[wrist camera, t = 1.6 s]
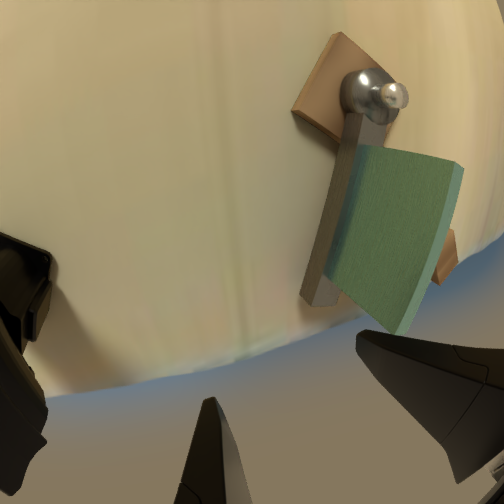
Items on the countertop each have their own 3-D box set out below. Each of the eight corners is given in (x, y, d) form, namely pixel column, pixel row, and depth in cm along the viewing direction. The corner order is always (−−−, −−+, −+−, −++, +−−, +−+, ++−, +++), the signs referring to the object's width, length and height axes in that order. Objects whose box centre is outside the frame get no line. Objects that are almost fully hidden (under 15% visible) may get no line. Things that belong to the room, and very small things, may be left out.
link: (344, 61, 16) (450, 44, 8) (386, 84, 18) (485, 84, 10) (288, 293, 23) (357, 374, 14) (331, 293, 24) (402, 361, 16)
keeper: (396, 235, 27) (433, 255, 22) (416, 214, 26) (453, 230, 22) (407, 265, 29) (439, 285, 24) (425, 244, 29) (458, 262, 24)
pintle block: (290, 110, 18) (298, 109, 17) (332, 34, 17) (340, 31, 16) (364, 162, 22) (373, 164, 21) (395, 91, 20) (404, 91, 19)
